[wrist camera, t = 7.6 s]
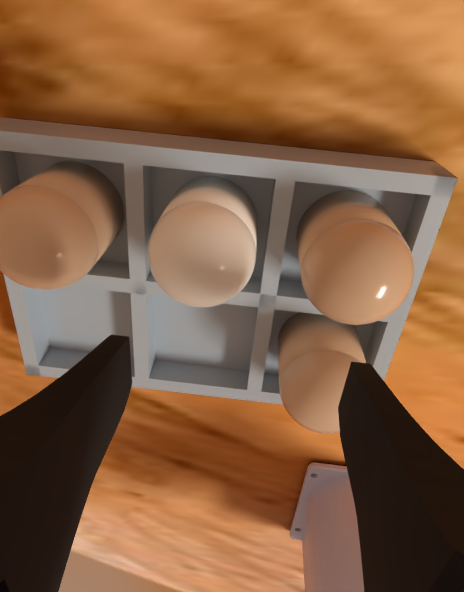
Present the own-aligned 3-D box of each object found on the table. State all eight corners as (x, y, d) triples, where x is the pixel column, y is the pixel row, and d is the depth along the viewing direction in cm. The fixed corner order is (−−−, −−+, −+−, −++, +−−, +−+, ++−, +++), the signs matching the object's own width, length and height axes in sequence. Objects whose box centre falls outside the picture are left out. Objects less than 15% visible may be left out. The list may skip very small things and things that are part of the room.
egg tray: (362, 383, 26) (371, 414, 24) (46, 346, 27) (26, 374, 25) (436, 161, 19) (457, 177, 17) (3, 117, 20) (-31, 127, 17)
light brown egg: (251, 268, 22) (246, 335, 17) (165, 256, 22) (135, 320, 17) (263, 183, 19) (263, 231, 14) (168, 170, 19) (134, 214, 14)
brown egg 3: (348, 374, 25) (367, 458, 20) (273, 366, 25) (273, 447, 20) (366, 312, 22) (393, 390, 18) (283, 303, 23) (287, 378, 18)
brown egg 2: (376, 279, 21) (408, 353, 16) (290, 270, 22) (295, 340, 17) (402, 195, 19) (447, 251, 14) (304, 185, 19) (316, 237, 14)
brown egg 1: (126, 252, 22) (83, 316, 17) (42, 243, 22) (-25, 303, 17) (121, 166, 19) (70, 211, 14) (27, 156, 20) (-56, 197, 15)
